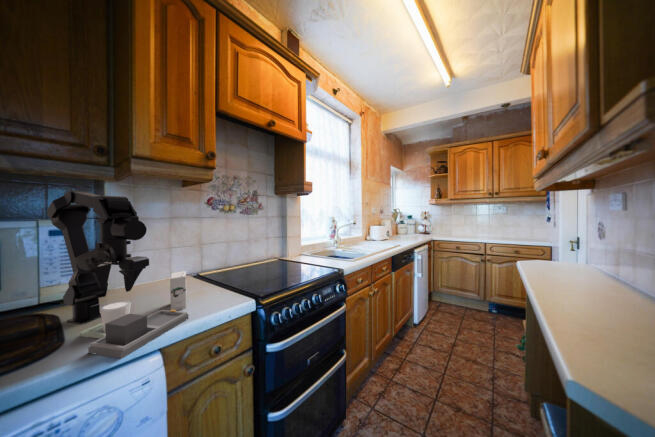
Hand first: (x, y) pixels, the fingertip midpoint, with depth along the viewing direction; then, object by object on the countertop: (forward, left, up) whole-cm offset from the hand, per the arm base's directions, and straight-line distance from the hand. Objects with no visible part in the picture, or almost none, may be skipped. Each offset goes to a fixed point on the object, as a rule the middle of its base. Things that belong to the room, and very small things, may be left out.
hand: (115, 290), depth 70 cm
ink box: (+5, +18, -12) cm, 22 cm away
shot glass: (0, 0, -12) cm, 12 cm away
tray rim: (0, 0, -12) cm, 12 cm away
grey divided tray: (+12, -1, -12) cm, 16 cm away
